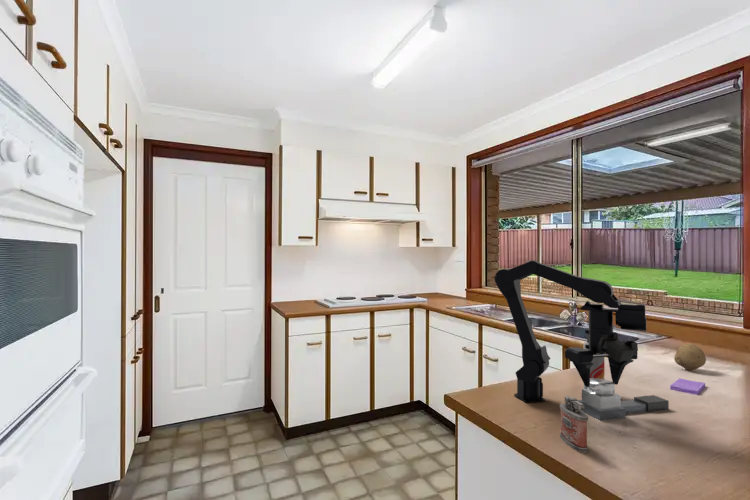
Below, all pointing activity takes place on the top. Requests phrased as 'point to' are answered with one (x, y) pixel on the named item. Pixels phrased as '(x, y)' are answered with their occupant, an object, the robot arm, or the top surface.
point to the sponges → (688, 386)
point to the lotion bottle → (596, 365)
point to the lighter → (574, 424)
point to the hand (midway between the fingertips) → (601, 385)
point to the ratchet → (628, 407)
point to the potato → (690, 357)
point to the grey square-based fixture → (601, 394)
